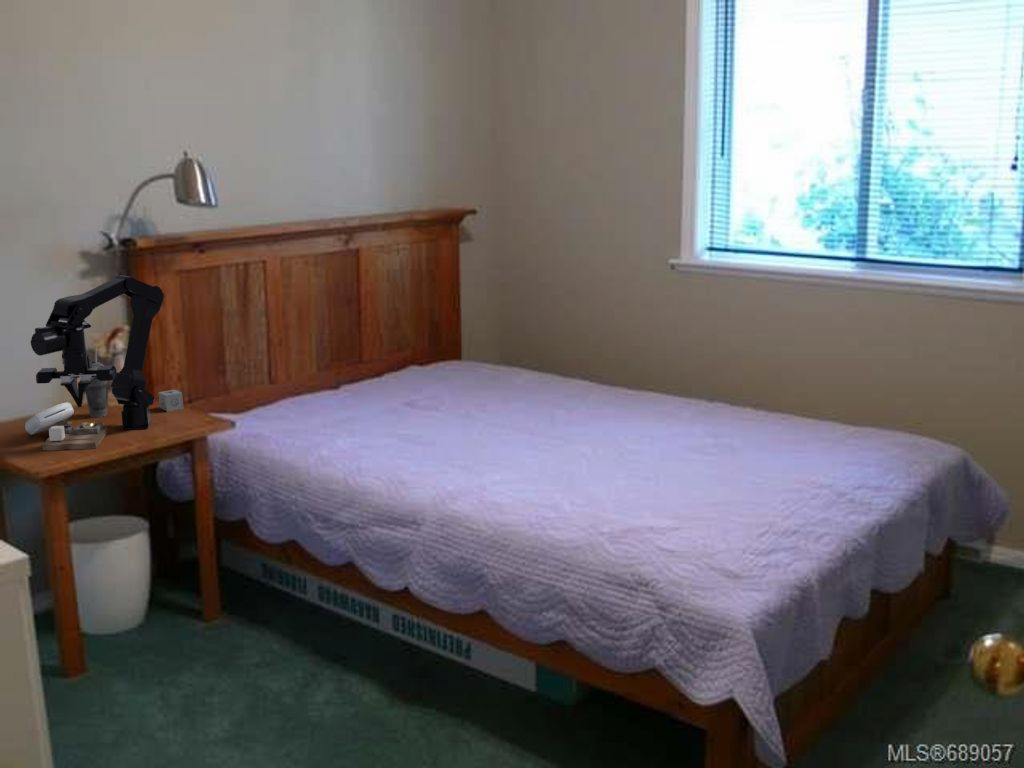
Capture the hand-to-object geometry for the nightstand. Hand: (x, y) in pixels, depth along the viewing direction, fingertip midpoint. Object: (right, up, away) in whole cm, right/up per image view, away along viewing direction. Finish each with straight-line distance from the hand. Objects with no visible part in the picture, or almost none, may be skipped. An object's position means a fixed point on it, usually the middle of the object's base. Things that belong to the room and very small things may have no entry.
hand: (80, 406), depth 285 cm
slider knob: (-6, -9, 0) cm, 10 cm away
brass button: (-1, -7, +8) cm, 10 cm away
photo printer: (-15, -5, +12) cm, 20 cm away
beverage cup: (-6, -3, +28) cm, 29 cm away
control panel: (-3, -9, +4) cm, 10 cm away
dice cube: (+13, -2, +35) cm, 37 cm away
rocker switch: (-7, -5, +7) cm, 11 cm away
